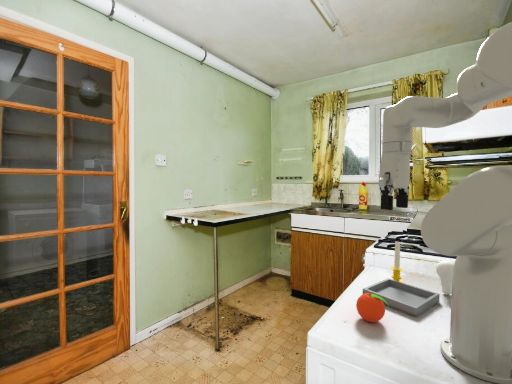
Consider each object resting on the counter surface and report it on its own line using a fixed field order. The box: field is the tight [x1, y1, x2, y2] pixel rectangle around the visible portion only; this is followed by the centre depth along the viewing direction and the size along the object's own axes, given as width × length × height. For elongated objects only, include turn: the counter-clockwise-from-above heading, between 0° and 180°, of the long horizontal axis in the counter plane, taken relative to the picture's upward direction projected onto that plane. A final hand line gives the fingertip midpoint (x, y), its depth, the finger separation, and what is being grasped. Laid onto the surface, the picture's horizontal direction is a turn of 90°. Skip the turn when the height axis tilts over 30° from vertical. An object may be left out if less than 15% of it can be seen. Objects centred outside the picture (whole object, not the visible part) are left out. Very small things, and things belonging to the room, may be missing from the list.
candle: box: [390, 240, 405, 283], centre depth 93 cm, size 5×5×16 cm
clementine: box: [355, 293, 389, 323], centre depth 68 cm, size 8×7×7 cm
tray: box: [362, 278, 441, 318], centre depth 81 cm, size 16×16×2 cm
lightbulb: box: [435, 260, 455, 296], centre depth 84 cm, size 6×6×11 cm
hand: (394, 208), depth 76 cm, fingers open, 9 cm apart
